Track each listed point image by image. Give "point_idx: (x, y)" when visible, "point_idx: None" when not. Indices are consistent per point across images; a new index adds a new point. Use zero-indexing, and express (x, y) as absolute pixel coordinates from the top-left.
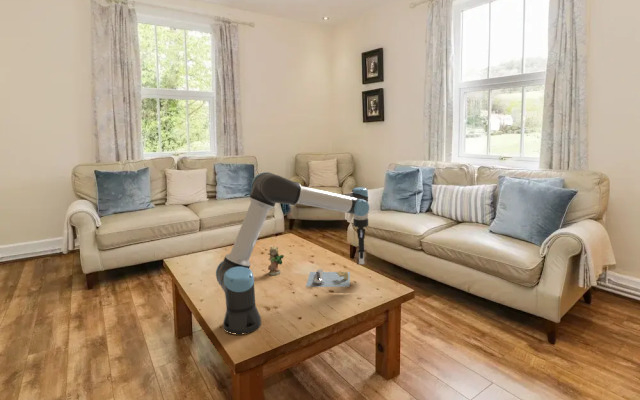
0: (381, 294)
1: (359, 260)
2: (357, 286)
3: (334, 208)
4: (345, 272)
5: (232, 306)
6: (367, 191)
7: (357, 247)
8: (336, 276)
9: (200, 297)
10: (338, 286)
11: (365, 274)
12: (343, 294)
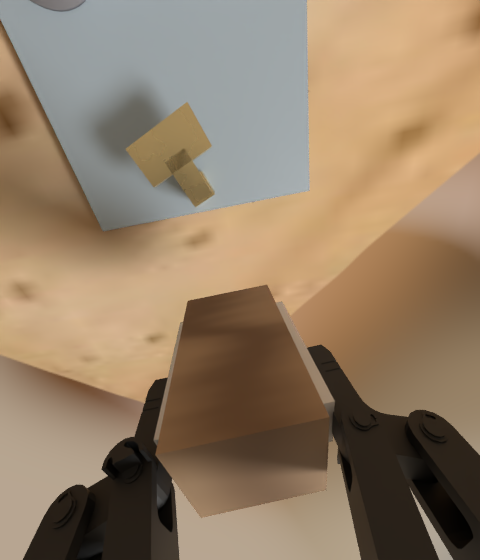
0: (110, 356)
1: (176, 349)
2: (146, 261)
3: None
4: (195, 187)
5: None
6: None
7: (272, 440)
8: (227, 105)
9: None
10: (72, 159)
11: (295, 271)
12: (11, 210)
